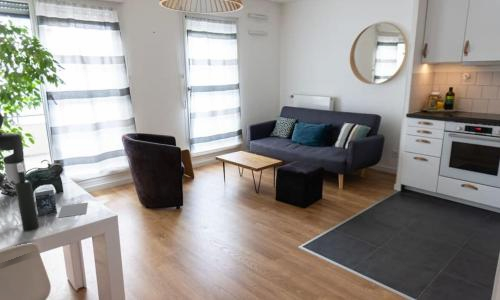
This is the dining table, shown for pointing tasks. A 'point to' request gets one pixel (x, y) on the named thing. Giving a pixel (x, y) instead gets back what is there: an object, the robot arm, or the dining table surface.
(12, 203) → the dining table surface
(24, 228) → the wine bottle
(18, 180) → the robot arm
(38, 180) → the ceramic cat
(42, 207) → the box
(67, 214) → the mat
